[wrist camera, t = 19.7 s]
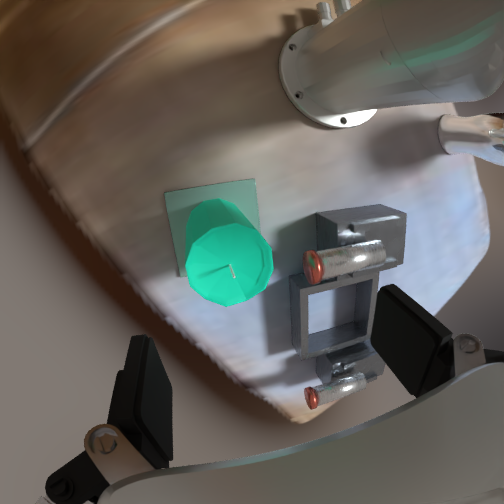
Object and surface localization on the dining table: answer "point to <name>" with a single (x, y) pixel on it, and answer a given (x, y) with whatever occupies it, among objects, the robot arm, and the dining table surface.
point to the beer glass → (474, 136)
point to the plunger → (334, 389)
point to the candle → (225, 254)
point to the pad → (190, 198)
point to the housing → (358, 332)
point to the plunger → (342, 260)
